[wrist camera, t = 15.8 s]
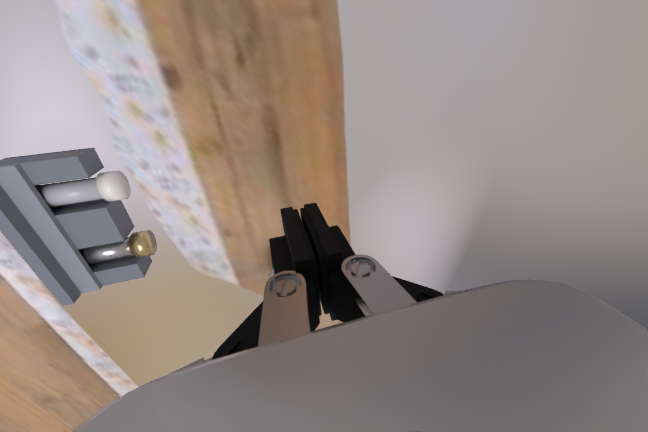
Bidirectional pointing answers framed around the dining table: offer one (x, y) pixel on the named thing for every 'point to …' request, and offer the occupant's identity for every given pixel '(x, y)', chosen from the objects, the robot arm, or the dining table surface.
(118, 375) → the dining table surface
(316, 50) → the dining table surface
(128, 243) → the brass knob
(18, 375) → the dining table surface
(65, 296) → the mount
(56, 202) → the light grey capped cylinder
